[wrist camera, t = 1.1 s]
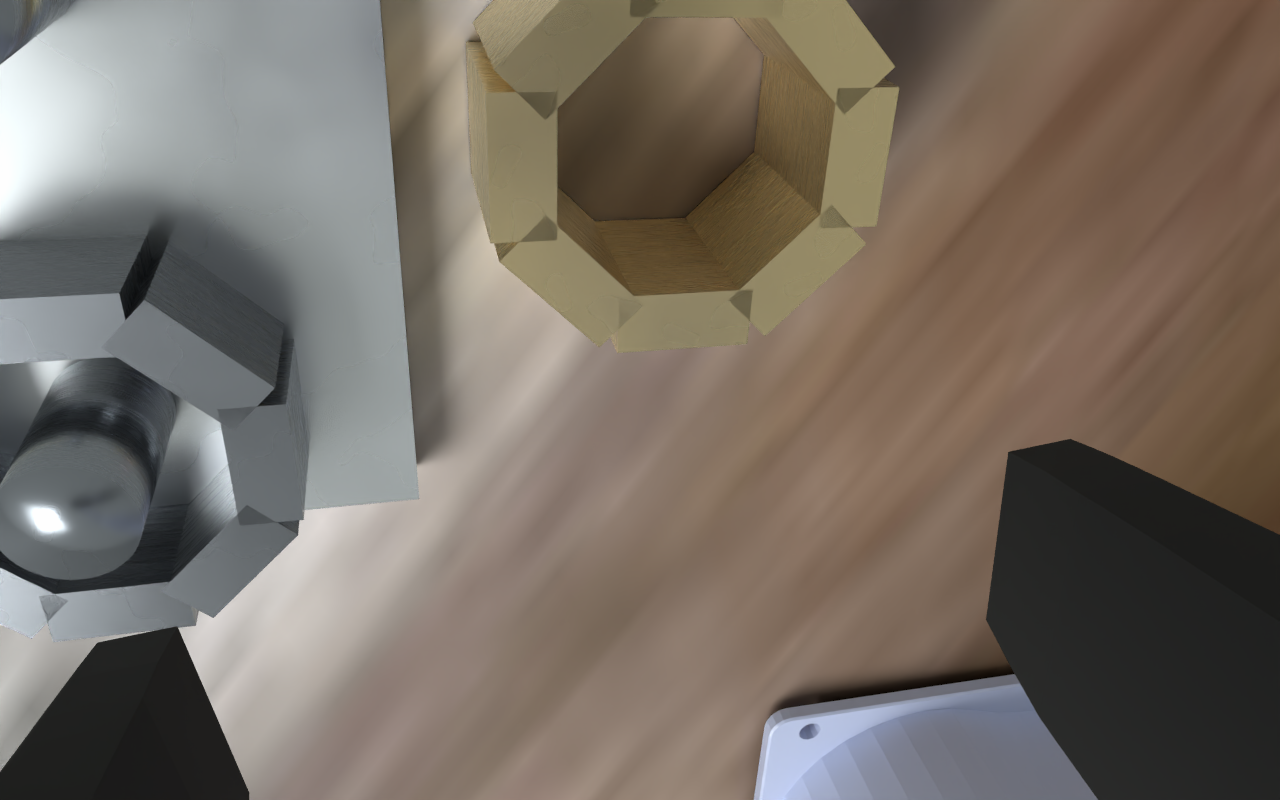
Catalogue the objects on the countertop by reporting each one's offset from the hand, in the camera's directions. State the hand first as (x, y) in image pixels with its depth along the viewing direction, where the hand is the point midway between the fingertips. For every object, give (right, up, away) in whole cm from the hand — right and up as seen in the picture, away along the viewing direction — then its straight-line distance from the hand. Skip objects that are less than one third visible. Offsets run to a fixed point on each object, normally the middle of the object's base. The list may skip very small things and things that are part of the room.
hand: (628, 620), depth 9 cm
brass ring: (0, +7, +7) cm, 10 cm away
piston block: (-8, +5, +6) cm, 11 cm away
